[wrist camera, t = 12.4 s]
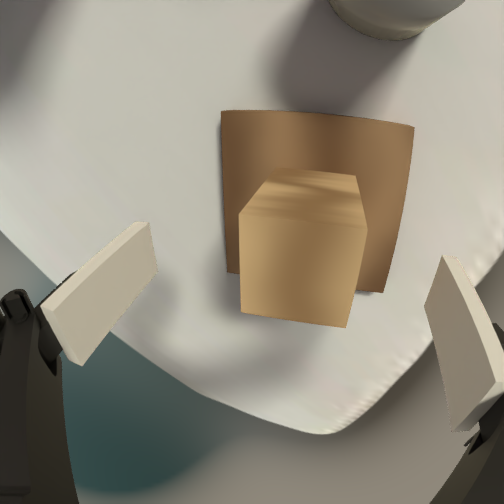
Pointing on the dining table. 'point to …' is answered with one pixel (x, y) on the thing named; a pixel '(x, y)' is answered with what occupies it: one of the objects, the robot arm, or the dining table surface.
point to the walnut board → (320, 159)
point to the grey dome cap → (392, 16)
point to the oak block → (302, 247)
